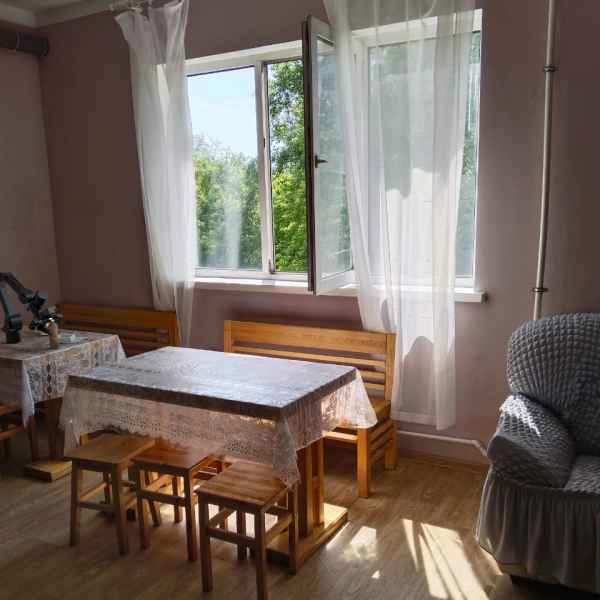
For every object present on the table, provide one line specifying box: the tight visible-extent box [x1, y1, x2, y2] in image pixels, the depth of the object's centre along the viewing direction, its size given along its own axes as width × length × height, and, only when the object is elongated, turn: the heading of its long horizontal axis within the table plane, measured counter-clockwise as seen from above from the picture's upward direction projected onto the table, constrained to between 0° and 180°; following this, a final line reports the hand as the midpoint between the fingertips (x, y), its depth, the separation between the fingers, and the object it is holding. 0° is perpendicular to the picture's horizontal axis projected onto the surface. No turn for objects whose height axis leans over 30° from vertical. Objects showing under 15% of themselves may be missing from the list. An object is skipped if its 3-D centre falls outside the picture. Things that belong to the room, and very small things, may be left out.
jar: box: [40, 312, 56, 336], centre depth 354 cm, size 9×8×12 cm
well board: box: [44, 333, 86, 345], centre depth 338 cm, size 18×12×3 cm, turn 94°
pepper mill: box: [48, 321, 60, 350], centre depth 322 cm, size 5×5×14 cm
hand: (55, 334), depth 321 cm, fingers closed on pepper mill, 5 cm apart
